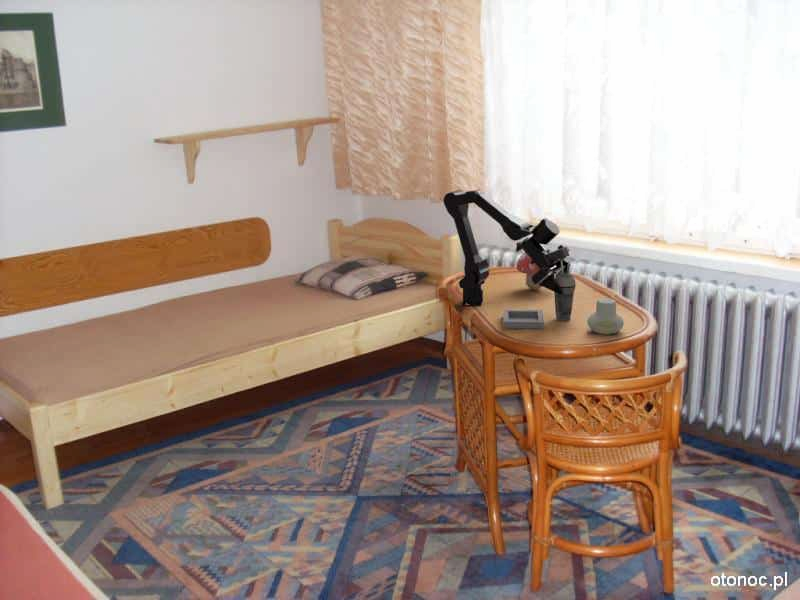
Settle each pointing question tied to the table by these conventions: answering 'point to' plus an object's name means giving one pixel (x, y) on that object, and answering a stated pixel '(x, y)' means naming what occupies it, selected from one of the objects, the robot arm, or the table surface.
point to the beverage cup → (564, 295)
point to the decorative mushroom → (528, 270)
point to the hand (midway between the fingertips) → (568, 290)
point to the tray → (523, 319)
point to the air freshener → (605, 317)
